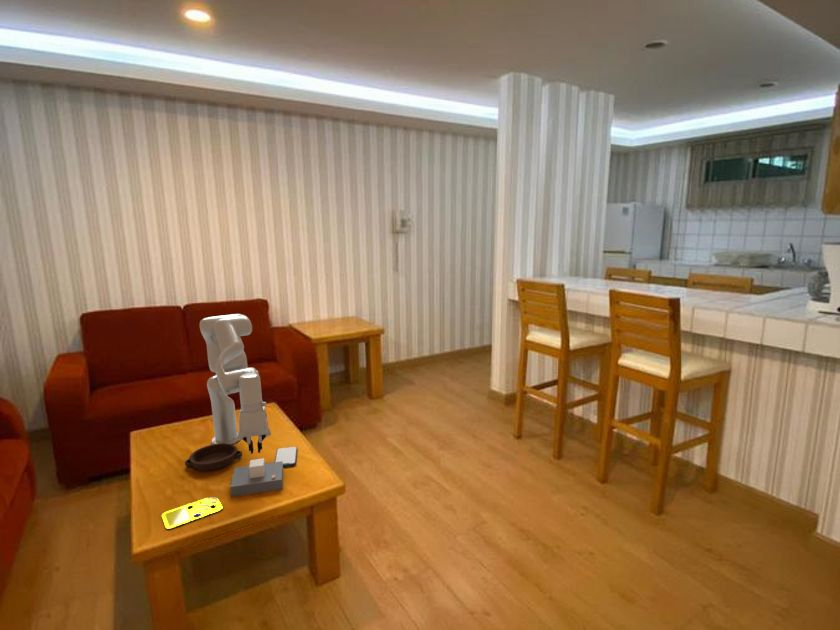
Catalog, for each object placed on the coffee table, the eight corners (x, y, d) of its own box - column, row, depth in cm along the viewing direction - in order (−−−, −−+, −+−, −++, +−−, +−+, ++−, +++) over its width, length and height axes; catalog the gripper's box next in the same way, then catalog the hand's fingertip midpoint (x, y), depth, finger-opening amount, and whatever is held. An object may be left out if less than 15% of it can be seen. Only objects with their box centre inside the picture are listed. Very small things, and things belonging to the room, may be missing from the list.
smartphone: (277, 451, 203) (273, 469, 187) (276, 448, 202) (273, 465, 187) (297, 449, 205) (296, 466, 189) (297, 445, 204) (295, 463, 189)
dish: (243, 468, 188) (242, 456, 187) (183, 479, 180) (182, 468, 179) (242, 449, 204) (241, 438, 203) (187, 459, 196) (185, 448, 195)
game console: (167, 533, 150) (166, 529, 149) (160, 516, 158) (160, 513, 158) (224, 511, 161) (224, 507, 160) (215, 497, 169) (215, 493, 169)
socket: (235, 476, 181) (234, 466, 181) (283, 470, 186) (282, 459, 185) (231, 496, 168) (230, 485, 167) (282, 489, 173) (281, 478, 172)
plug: (252, 477, 179) (250, 460, 177) (265, 475, 180) (264, 458, 179) (250, 485, 174) (249, 467, 172) (264, 483, 175) (263, 465, 173)
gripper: (274, 400, 176) (278, 444, 180) (230, 404, 172) (234, 450, 176) (273, 407, 169) (277, 453, 173) (227, 412, 165) (232, 459, 169)
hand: (255, 451), depth 175 cm, fingers closed
